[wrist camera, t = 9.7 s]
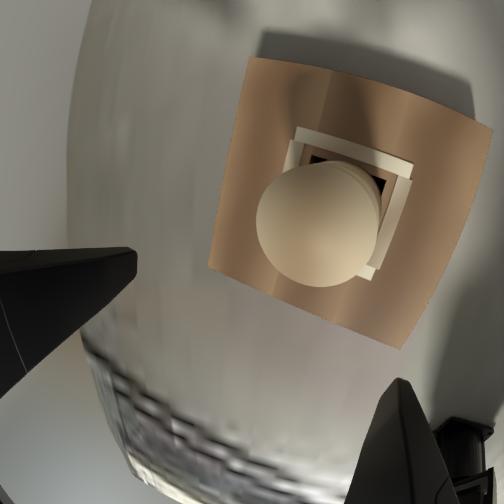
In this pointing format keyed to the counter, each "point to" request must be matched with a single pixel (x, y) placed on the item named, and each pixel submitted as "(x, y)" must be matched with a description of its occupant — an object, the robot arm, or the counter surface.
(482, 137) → the seat block
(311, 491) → the counter surface
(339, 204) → the peg
